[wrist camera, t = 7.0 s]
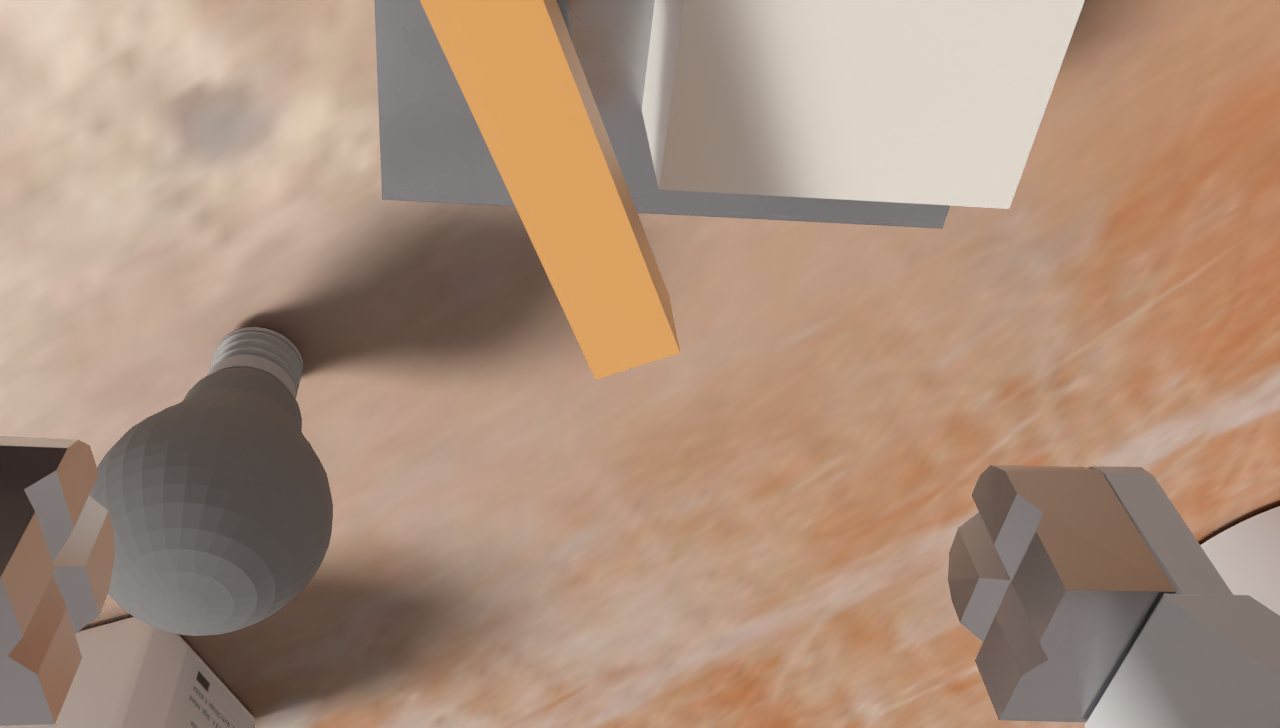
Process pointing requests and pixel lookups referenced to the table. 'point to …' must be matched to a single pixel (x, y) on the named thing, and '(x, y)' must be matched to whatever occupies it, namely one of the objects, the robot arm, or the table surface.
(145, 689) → the container
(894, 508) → the table surface
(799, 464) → the table surface
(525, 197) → the t key
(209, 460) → the light bulb
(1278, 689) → the robot arm
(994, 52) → the cream white box
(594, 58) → the box
